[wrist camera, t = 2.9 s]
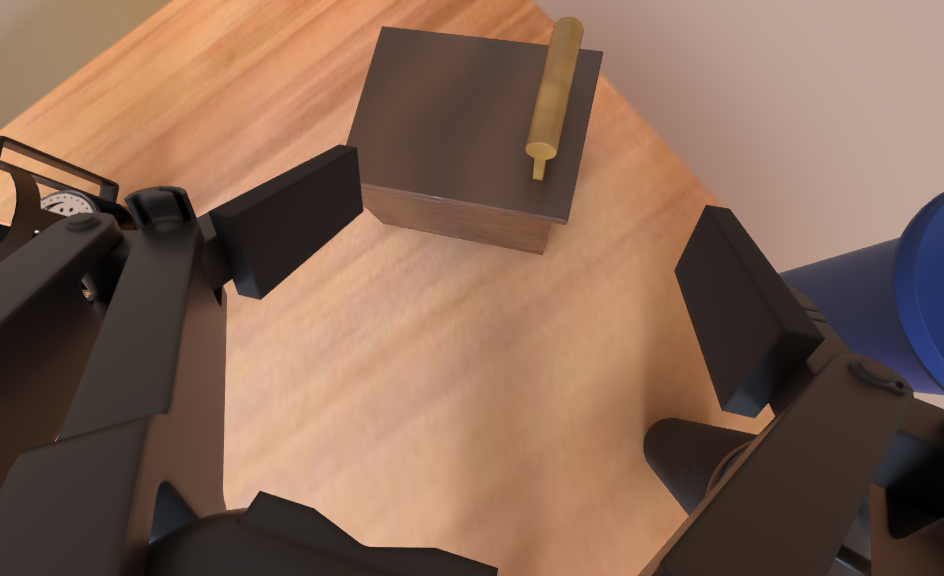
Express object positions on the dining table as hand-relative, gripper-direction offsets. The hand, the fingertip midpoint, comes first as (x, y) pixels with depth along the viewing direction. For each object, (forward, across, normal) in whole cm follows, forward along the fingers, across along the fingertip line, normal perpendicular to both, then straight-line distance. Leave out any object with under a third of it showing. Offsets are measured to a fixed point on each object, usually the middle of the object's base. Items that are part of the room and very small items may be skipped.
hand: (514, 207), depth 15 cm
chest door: (+15, -6, -1) cm, 16 cm away
